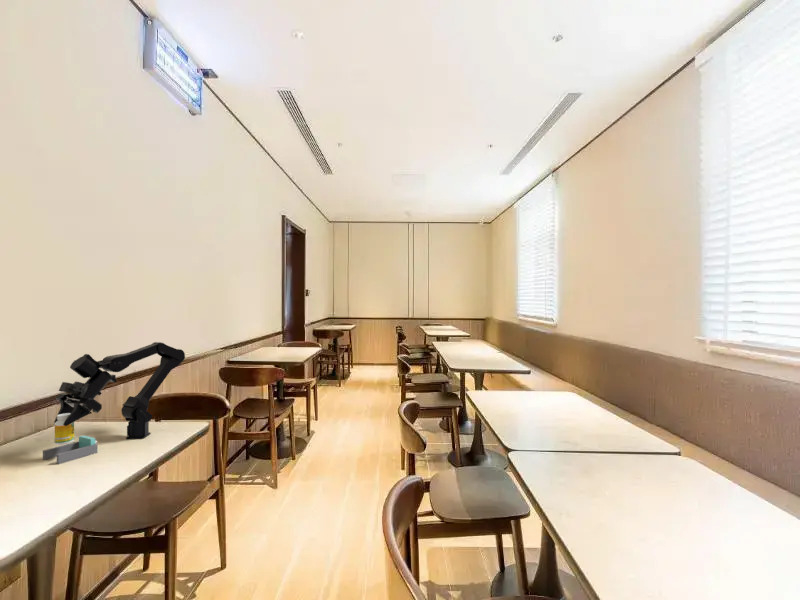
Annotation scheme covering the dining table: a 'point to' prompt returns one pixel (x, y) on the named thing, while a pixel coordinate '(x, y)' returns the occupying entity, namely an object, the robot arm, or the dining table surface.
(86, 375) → the robot arm
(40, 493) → the dining table surface
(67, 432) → the supplement bottle
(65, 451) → the lane
